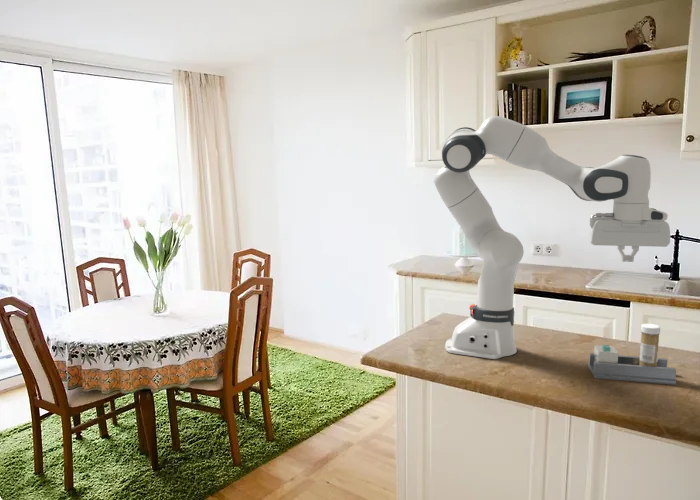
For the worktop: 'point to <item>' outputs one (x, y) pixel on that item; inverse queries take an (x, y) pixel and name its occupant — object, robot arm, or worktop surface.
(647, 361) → the sprinkles bottle
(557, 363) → the worktop surface
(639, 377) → the rail
